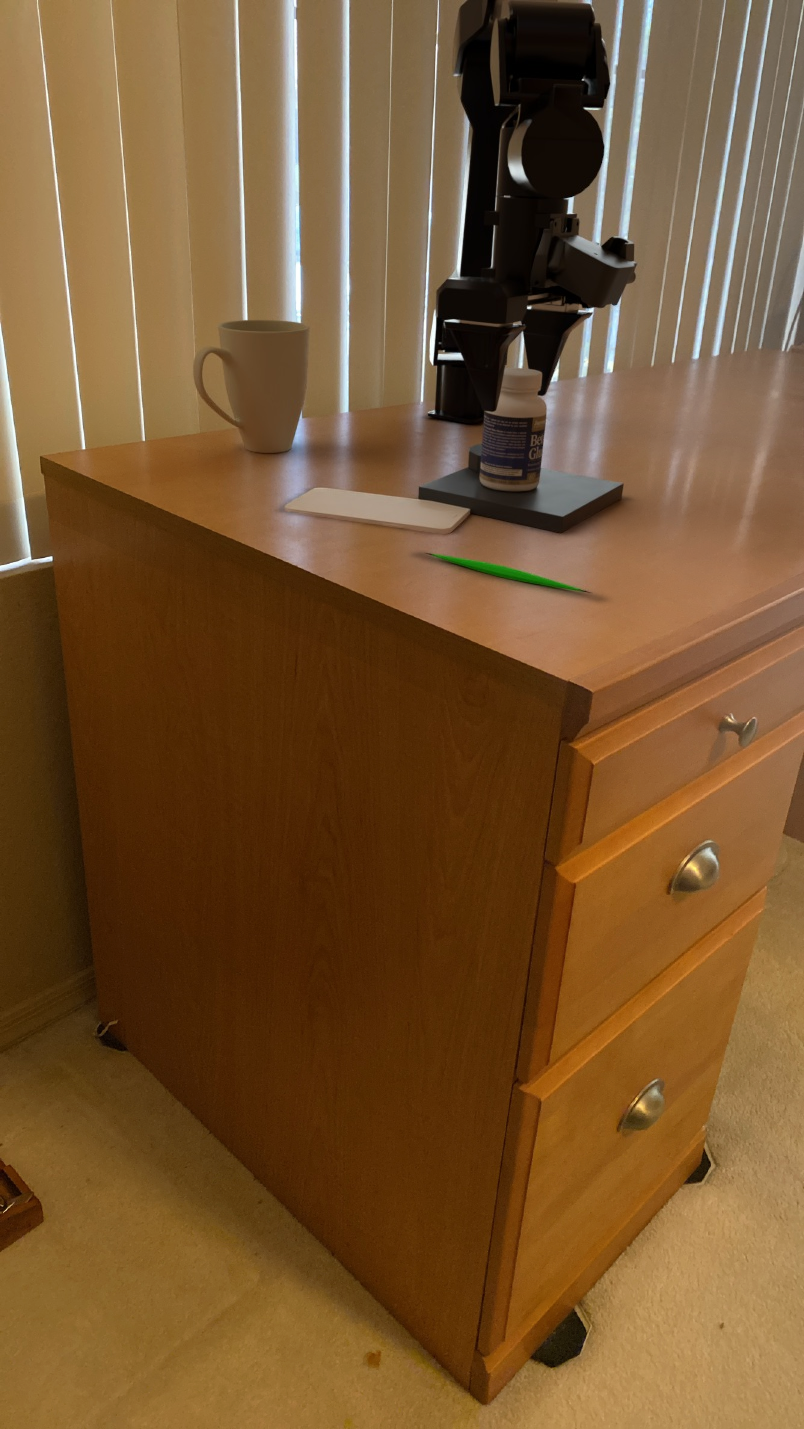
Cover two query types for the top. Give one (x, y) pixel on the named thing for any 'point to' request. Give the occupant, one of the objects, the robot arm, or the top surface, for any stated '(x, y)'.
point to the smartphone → (379, 510)
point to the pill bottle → (514, 434)
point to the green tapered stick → (505, 572)
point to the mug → (261, 379)
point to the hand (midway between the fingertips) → (515, 402)
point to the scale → (525, 496)
